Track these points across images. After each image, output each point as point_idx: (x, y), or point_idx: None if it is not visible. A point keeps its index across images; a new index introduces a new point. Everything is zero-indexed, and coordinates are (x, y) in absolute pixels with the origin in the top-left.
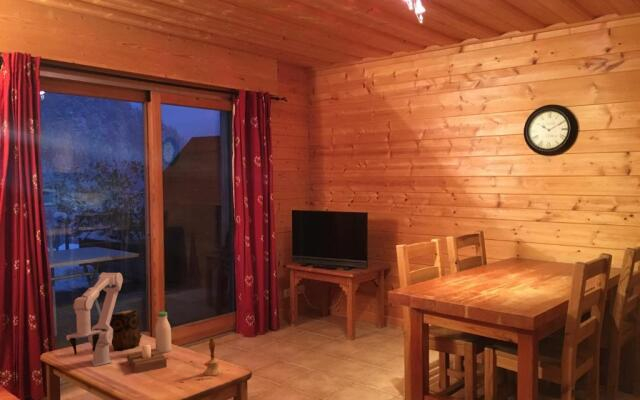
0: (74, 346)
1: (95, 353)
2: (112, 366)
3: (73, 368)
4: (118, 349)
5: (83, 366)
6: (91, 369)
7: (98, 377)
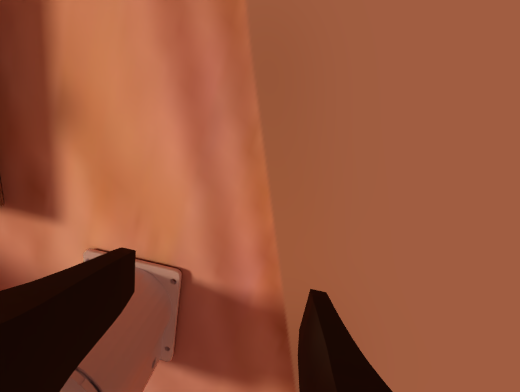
0: (360, 377)
1: (130, 337)
2: (92, 192)
3: (282, 322)
4: None
5: (229, 311)
6: (207, 235)
7: (212, 50)
